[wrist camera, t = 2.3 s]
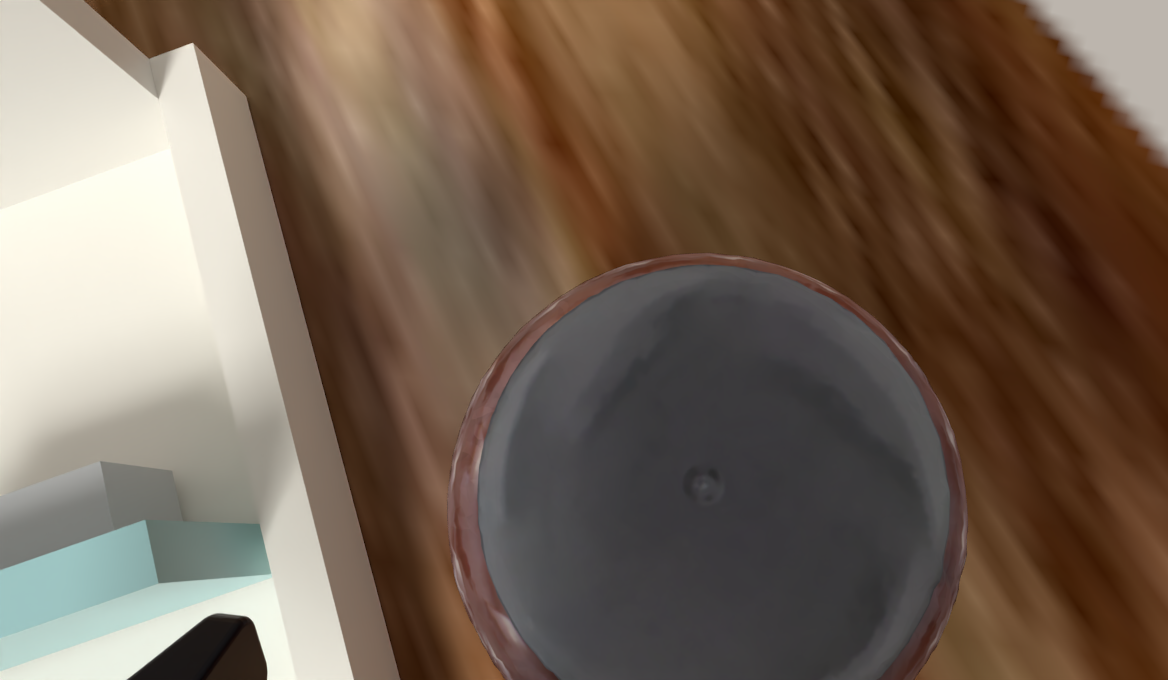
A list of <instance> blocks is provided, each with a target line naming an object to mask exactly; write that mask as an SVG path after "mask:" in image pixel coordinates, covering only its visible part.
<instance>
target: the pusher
mask: <svg viewBox="0 0 1168 680" xmlns="http://www.w3.org/2000/svg"><path fill="white" fill-rule="evenodd" d="M269 578H272V574H271V570H270V565H269V561H268V557H267V553H266V549H265V544H264V540H263V536H262V532H261V528H260V524H246V523H219V522H193V521H183V518H182V514H181V509H180V505H179V500H178V496H177V491H176V486H175V482H174V477H173V473H172V471H170V470H163V469H155V468H148V467H141V466H133V465H126V464H118V463H111V462H103V461H99V462H96V463H93V464H90V465H87V466H85V467H82V468H79V469H76V470H73V471H70V472H68V473H65V474H62V475H59V476H56V477H53V478H50V479H48V480H45V481H42V482H39V483H36V484H33V485H31V486H28V487H25V488H22V489H19V490H16V491H13V492H11V493H8V494H5V495H2V496H0V671H2V670H5V669H8V668H11V667H14V666H17V665H20V664H23V663H26V662H28V661H31V660H34V659H37V658H40V657H43V656H46V655H49V654H52V653H55V652H58V651H60V650H63V649H66V648H69V647H72V646H75V645H78V644H81V643H84V642H87V641H89V640H92V639H95V638H98V637H101V636H104V635H107V634H110V633H113V632H116V631H118V630H121V629H124V628H127V627H130V626H133V625H136V624H139V623H142V622H145V621H147V620H150V619H153V618H156V617H159V616H162V615H165V614H168V613H171V612H174V611H176V610H179V609H182V608H185V607H188V606H191V605H194V604H197V603H200V602H203V601H206V600H208V599H211V598H214V597H217V596H220V595H223V594H226V593H229V592H232V591H235V590H237V589H240V588H243V587H246V586H249V585H252V584H255V583H258V582H261V581H264V580H266V579H269Z"/></svg>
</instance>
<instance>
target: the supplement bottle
mask: <svg viewBox="0 0 1168 680" xmlns="http://www.w3.org/2000/svg"><path fill="white" fill-rule="evenodd" d="M447 521H448V533H449V546H450V552H451V561H452V564H453V569H454V575H455V581H456V584H457V587H458V590H459V593H460V596H461V598H462V601H463V604H464V606H465V609H466V612H467V614H468V616H469V618H470V621H471V623H472V624H473V625H474V627H475V629H476V632H477V633H478V635H479V637H480V640H481V642H482V644H483V646H484V647H485V649H486V650H487V652H488V654H489V656H490V658H491V660H492V662H493V663H494V665H495V666H496V667H497V668H498V669H499V671H500V672H501V674H502V676H503V678H505V679H506V680H914V679H915V678H916V676H917V675H918V673H919V672H920V670H921V669H922V668H923V666H924V665H925V663H926V662H927V661H928V659H929V657H930V655H931V653H932V652H933V651H934V650H935V648H936V647H937V644H938V642H939V640H940V638H941V635H942V633H943V631H944V628H945V626H946V625H947V623H948V620H949V617H950V614H951V611H952V608H953V605H954V603H955V601H956V597H957V593H958V590H959V580H960V577H961V574H962V571H963V568H964V564H965V560H966V556H967V532H968V513H967V501H966V491H965V483H964V477H963V470H962V464H961V458H960V455H959V451H958V447H957V443H956V439H955V435H954V432H953V430H952V428H951V426H950V424H949V421H948V418H947V416H946V414H945V412H944V410H943V408H942V405H941V403H940V401H939V399H938V397H937V396H936V394H935V393H934V391H933V389H932V388H931V386H930V383H929V381H928V379H927V377H926V376H925V374H924V373H923V371H922V370H921V368H920V367H919V365H918V364H917V363H916V362H915V361H914V360H913V358H912V356H911V355H910V354H909V353H908V352H907V350H906V349H905V348H904V347H903V346H902V345H901V344H900V343H899V342H898V340H897V339H896V338H895V337H894V336H893V335H892V334H891V333H890V332H889V331H888V330H887V329H886V328H885V327H884V326H883V325H882V324H881V323H880V322H879V321H877V320H876V319H875V318H874V317H873V316H872V315H871V314H869V313H868V312H867V311H865V310H864V309H863V308H861V307H860V306H859V305H857V304H856V303H855V302H853V301H852V300H851V299H850V298H848V297H847V296H845V295H843V294H841V293H840V292H838V291H837V290H835V289H834V288H832V287H830V286H828V285H826V284H824V283H822V282H820V281H818V280H816V279H814V278H812V277H809V276H807V275H805V274H802V273H800V272H798V271H795V270H792V269H789V268H787V267H784V266H781V265H777V264H774V263H769V262H766V261H763V260H760V259H755V258H751V257H745V256H733V255H724V254H715V253H692V254H679V255H670V256H664V257H659V258H653V259H648V260H644V261H639V262H635V263H631V264H628V265H624V266H621V267H618V268H616V269H613V270H611V271H608V272H606V273H603V274H601V275H599V276H596V277H594V278H592V279H589V280H587V281H585V282H583V283H582V284H580V285H578V286H577V287H575V288H573V289H572V290H570V291H568V292H567V293H565V294H564V295H562V296H560V297H559V298H557V299H556V300H555V301H553V302H552V303H551V304H550V305H548V306H547V307H546V308H545V309H543V310H542V311H541V312H540V313H538V314H537V315H536V316H535V317H534V318H532V319H531V320H530V321H529V322H528V323H527V324H525V325H524V326H523V327H522V328H521V329H520V330H519V331H518V332H517V333H516V335H515V336H514V337H513V338H512V339H511V341H510V342H509V343H508V344H507V345H506V346H505V347H504V349H503V350H502V351H501V353H500V354H499V355H498V357H497V358H496V359H495V361H494V362H493V364H492V365H491V367H490V368H489V370H488V371H487V372H486V374H485V375H484V376H483V378H482V379H481V382H480V384H479V386H478V388H477V389H476V391H475V393H474V395H473V397H472V399H471V402H470V404H469V407H468V410H467V412H466V414H465V417H464V419H463V422H462V425H461V428H460V431H459V435H458V439H457V443H456V446H455V449H454V453H453V457H452V466H451V470H450V478H449V487H448V499H447Z"/></svg>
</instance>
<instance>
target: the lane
mask: <svg viewBox="0 0 1168 680" xmlns="http://www.w3.org/2000/svg"><path fill="white" fill-rule="evenodd" d="M99 461H103V462H111V463H118V464H126V465H133V466H141V467H148V468H155V469H163V470H170V471H172V473H173V477H174V482H175V486H176V491H177V496H178V500H179V505H180V509H181V514H182V518H183V521H193V522H219V523H246V524H260V528H261V532H262V536H263V540H264V544H265V549H266V553H267V557H268V561H269V565H270V570H271V574H272V578H269V579H266V580H264V581H261V582H258V583H255V584H252V585H249V586H246V587H243V588H240V589H237V590H235V591H232V592H229V593H226V594H223V595H220V596H217V597H214V598H211V599H208V600H206V601H203V602H200V603H197V604H194V605H191V606H188V607H185V608H182V609H179V610H176V611H174V612H171V613H168V614H165V615H162V616H159V617H156V618H153V619H150V620H147V621H145V622H142V623H139V624H136V625H133V626H130V627H127V628H124V629H121V630H118V631H116V632H113V633H110V634H107V635H104V636H101V637H98V638H95V639H92V640H89V641H87V642H84V643H81V644H78V645H75V646H72V647H69V648H66V649H63V650H60V651H58V652H55V653H52V654H49V655H46V656H43V657H40V658H37V659H34V660H31V661H28V662H26V663H23V664H20V665H17V666H14V667H11V668H8V669H5V670H2V671H0V680H127V679H128V678H129V677H131V676H132V675H133V674H134V673H136V672H137V671H138V670H139V669H141V668H142V667H143V666H145V665H146V664H147V663H148V662H150V661H151V660H152V659H153V658H155V657H156V656H157V655H158V654H160V653H161V652H162V651H164V650H165V649H166V648H167V647H169V646H170V645H171V644H172V643H174V642H175V641H176V640H177V639H179V638H180V637H181V636H182V635H184V634H185V633H186V632H188V631H189V630H190V629H191V628H193V627H194V626H195V625H196V624H198V623H199V622H200V621H201V620H203V619H204V618H206V617H208V616H210V615H212V614H215V613H224V614H232V615H240V616H247V617H249V618H250V619H251V620H252V621H253V622H254V625H255V627H256V631H257V634H258V637H259V640H260V644H261V647H262V650H263V653H264V656H265V660H266V663H267V672H268V674H267V680H400V677H399V673H398V669H397V665H396V662H395V658H394V654H393V650H392V646H391V643H390V639H389V635H388V631H387V628H386V624H385V620H384V616H383V612H382V609H381V605H380V601H379V597H378V594H377V590H376V586H375V582H374V578H373V575H372V571H371V567H370V563H369V559H368V556H367V552H366V548H365V544H364V541H363V537H362V533H361V529H360V525H359V522H358V518H357V514H356V510H355V507H354V503H353V499H352V495H351V491H350V488H349V484H348V480H347V476H346V472H345V469H344V465H343V461H342V457H341V454H340V450H339V446H338V442H337V438H336V435H335V431H334V427H333V423H332V420H331V416H330V412H329V408H328V404H327V401H326V397H325V393H324V389H323V385H322V382H321V378H320V374H319V370H318V367H317V363H316V359H315V355H314V351H313V348H312V344H311V340H310V336H309V333H308V329H307V325H306V321H305V317H304V314H303V310H302V306H301V302H300V299H299V295H298V291H297V287H296V283H295V280H294V276H293V272H292V268H291V264H290V261H289V257H288V253H287V249H286V246H285V242H284V238H283V234H282V230H281V227H280V223H279V219H278V215H277V212H276V208H275V204H274V200H273V196H272V193H271V189H270V185H269V181H268V177H267V174H266V170H265V166H264V162H263V159H262V155H261V151H260V147H259V143H258V140H257V136H256V132H255V128H254V125H253V121H252V117H251V113H250V109H249V106H248V102H247V98H246V96H245V95H244V94H243V93H242V92H241V91H240V90H239V89H238V88H237V87H236V86H235V85H234V84H233V83H232V82H231V81H230V80H229V79H228V77H227V76H226V75H225V74H224V73H223V72H222V71H221V70H220V69H219V68H218V67H217V66H216V65H215V64H214V63H213V62H212V61H211V60H210V59H209V58H208V57H207V56H206V55H205V54H204V53H203V52H202V51H201V50H200V49H199V48H198V47H197V46H196V45H195V44H194V43H191V44H188V45H185V46H183V47H180V48H177V49H174V50H172V51H169V52H166V53H163V54H161V55H158V56H155V57H153V58H150V59H148V58H147V57H146V56H145V55H144V54H143V53H142V52H141V51H140V50H138V49H137V48H136V47H135V46H134V45H133V44H132V43H131V42H129V41H128V40H127V39H126V38H125V37H124V36H123V35H122V34H120V33H119V32H118V31H117V30H116V29H115V28H114V27H113V26H112V25H110V24H109V23H108V22H107V21H106V20H105V19H104V18H103V17H101V16H100V15H99V14H98V13H97V12H96V11H95V10H94V9H92V8H91V7H90V6H89V5H88V4H87V3H86V2H85V1H84V0H0V496H2V495H5V494H8V493H11V492H13V491H16V490H19V489H22V488H25V487H28V486H31V485H33V484H36V483H39V482H42V481H45V480H48V479H50V478H53V477H56V476H59V475H62V474H65V473H68V472H70V471H73V470H76V469H79V468H82V467H85V466H87V465H90V464H93V463H96V462H99Z"/></svg>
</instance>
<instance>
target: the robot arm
mask: <svg viewBox="0 0 1168 680" xmlns="http://www.w3.org/2000/svg"><path fill="white" fill-rule="evenodd" d="M267 674H268V672H267V663H266V660H265V656H264V653H263V650H262V647H261V644H260V640H259V637H258V634H257V631H256V627H255V625H254V622H253V621H252V620H251V619H250V618H249V617H247V616H240V615H232V614H224V613H215V614H212V615H210V616H208V617H206V618H204V619H203V620H201V621H200V622H199V623H198V624H196V625H195V626H194V627H193V628H191V629H190V630H189V631H188V632H186V633H185V634H184V635H182V636H181V637H180V638H179V639H177V640H176V641H175V642H174V643H172V644H171V645H170V646H169V647H167V648H166V649H165V650H164V651H162V652H161V653H160V654H158V655H157V656H156V657H155V658H153V659H152V660H151V661H150V662H148V663H147V664H146V665H145V666H143V667H142V668H141V669H139V670H138V671H137V672H136V673H134V674H133V675H132V676H131V677H129V678H128V679H127V680H267Z"/></svg>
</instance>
